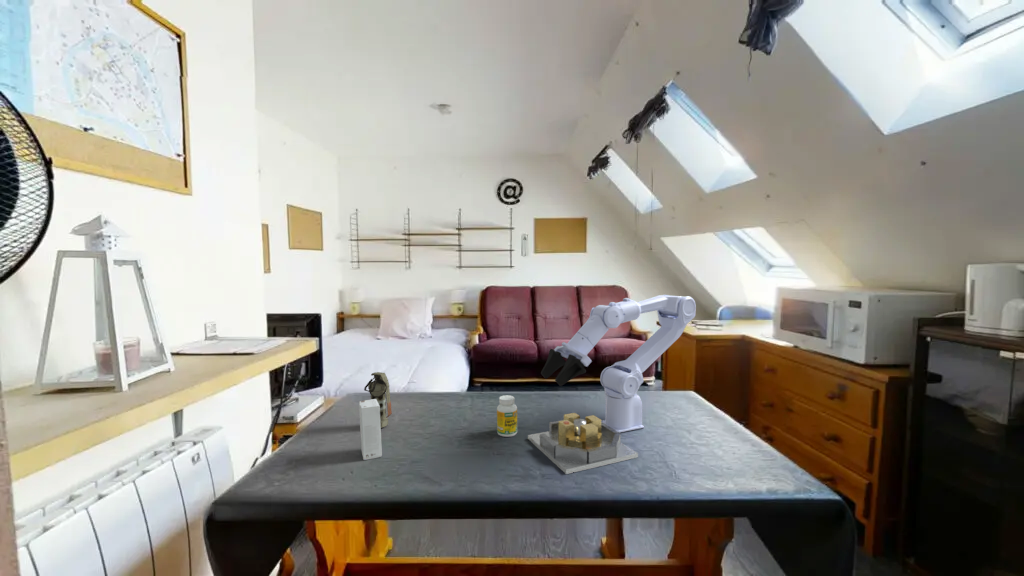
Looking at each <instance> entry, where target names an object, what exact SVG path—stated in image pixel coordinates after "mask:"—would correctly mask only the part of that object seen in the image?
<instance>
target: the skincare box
mask: <svg viewBox="0 0 1024 576" xmlns="http://www.w3.org/2000/svg"><path fill="white" fill-rule="evenodd" d="M358 412H359V415H358V416H359V430H360V448H361V454H362V459H363V460H364V461H365V460H366V461H367V460H373V459H378V458H382V456H383V450H382V431H381V430H382V429H381V424H380V406H379V404H378V402H377V400H376V399H371V398H370V399H367V400H366V399H365V400H360V401H358Z"/></svg>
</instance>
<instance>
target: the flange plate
mask: <svg viewBox="0 0 1024 576" xmlns="http://www.w3.org/2000/svg"><path fill="white" fill-rule="evenodd" d="M563 420H564V419H561V420H556V421H549V422H548V423H549V425H548V426H549V428H548V430H549V431H548V430H547V431H543V432H538V433H532V434H527V440H529V442H530V443H532V444H533V445H534V446H535V447H536V448H537V449H538V450H539V451H540V452H542V454H543V455H545V456H546V457H547V458H548V459H549V460H550V461H551V462H552V463H553V464H555V466H556V467H558V468H559V470H561V471H562V472H563V473H564V474H565V475H568V474H573V472H574V473H578V472H581V471H585V470H586V471H587V470H590V469H594V468H598V467H603V466H606V465H611V464H615V463H620V462H624V461H628V460H633V459H636V458H639V452H638V451H636V450H634V449H633V448H630V447H629V446H628V445H625V444H624V443H622V441H621V432H620V433H619V432H618V431H616V430H614V429H613V428H611V427H609V426H608V425H606V424H604V423H601V433H602V444H601V447H596V448H592V449H581V448H575V447H569V446H563V445H560V444H559V442H558V432H559V421H563ZM585 424H586V420H585V419H584V418H580V419H575V420H574V436H575V437H580V425H585Z"/></svg>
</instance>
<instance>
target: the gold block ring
mask: <svg viewBox="0 0 1024 576" xmlns="http://www.w3.org/2000/svg"><path fill="white" fill-rule="evenodd" d="M575 419H581V416H580V415H579V414H577V413H576V412H571V413H565V414H563V419H562V420H563V421H561V420H558V421H559V432H558V442H559V444H560V445H563V446H569V447H575V448H581V449H592V448H596V447H601V444H602V433H601V421H602V419H601V418H599V417H597V416H596V415H594V414H592V415H588V416H585V419H584V420H586V424H585V425H580V437H575V436H574V420H575Z"/></svg>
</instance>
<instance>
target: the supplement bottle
mask: <svg viewBox="0 0 1024 576" xmlns="http://www.w3.org/2000/svg"><path fill="white" fill-rule="evenodd" d="M498 402H499V404H498V406H497V407H496V420H497V421H496V428H497V429H496V430H497V431H496V432H497V435H498V436H500V437H503V438H504V437H505V438H507V437H509V438H510V437H514V436H516V435H517V433H518V406H517V405H516V404H515V397H514V396H513V395H508V394H507V395H500V396H499V401H498Z"/></svg>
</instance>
